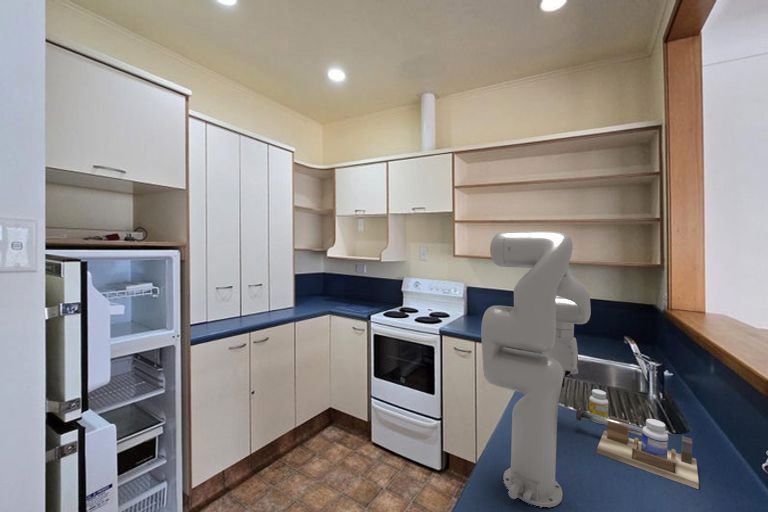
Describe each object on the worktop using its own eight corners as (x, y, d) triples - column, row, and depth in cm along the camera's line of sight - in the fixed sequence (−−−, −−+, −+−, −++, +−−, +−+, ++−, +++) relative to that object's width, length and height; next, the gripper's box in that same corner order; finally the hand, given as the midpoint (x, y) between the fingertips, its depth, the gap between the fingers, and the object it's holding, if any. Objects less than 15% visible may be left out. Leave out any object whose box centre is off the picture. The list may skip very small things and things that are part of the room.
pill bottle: (641, 449, 92) (642, 414, 92) (666, 457, 89) (668, 421, 88) (640, 459, 88) (642, 422, 88) (667, 468, 84) (669, 429, 84)
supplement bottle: (609, 426, 107) (610, 396, 107) (589, 422, 110) (590, 393, 109) (606, 418, 112) (607, 390, 112) (587, 414, 115) (588, 387, 114)
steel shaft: (646, 444, 91) (647, 428, 91) (575, 422, 103) (576, 408, 103) (647, 438, 95) (648, 422, 95) (579, 417, 106) (579, 403, 106)
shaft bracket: (698, 489, 79) (699, 460, 79) (597, 453, 92) (597, 428, 92) (695, 464, 88) (697, 438, 88) (604, 435, 102) (605, 412, 102)
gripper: (532, 330, 110) (531, 385, 111) (584, 339, 100) (582, 399, 101) (539, 326, 115) (538, 378, 116) (589, 334, 106) (587, 391, 106)
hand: (558, 387), depth 108 cm, fingers closed
